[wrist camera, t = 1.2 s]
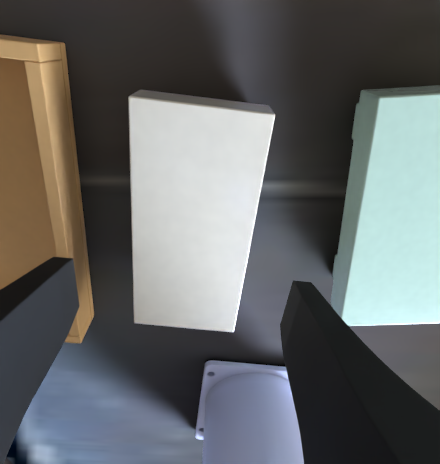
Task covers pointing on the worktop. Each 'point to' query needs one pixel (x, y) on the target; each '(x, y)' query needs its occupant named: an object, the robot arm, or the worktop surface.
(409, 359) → the worktop surface
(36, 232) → the tray
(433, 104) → the sage green thick block
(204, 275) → the off-white rectangular slab
